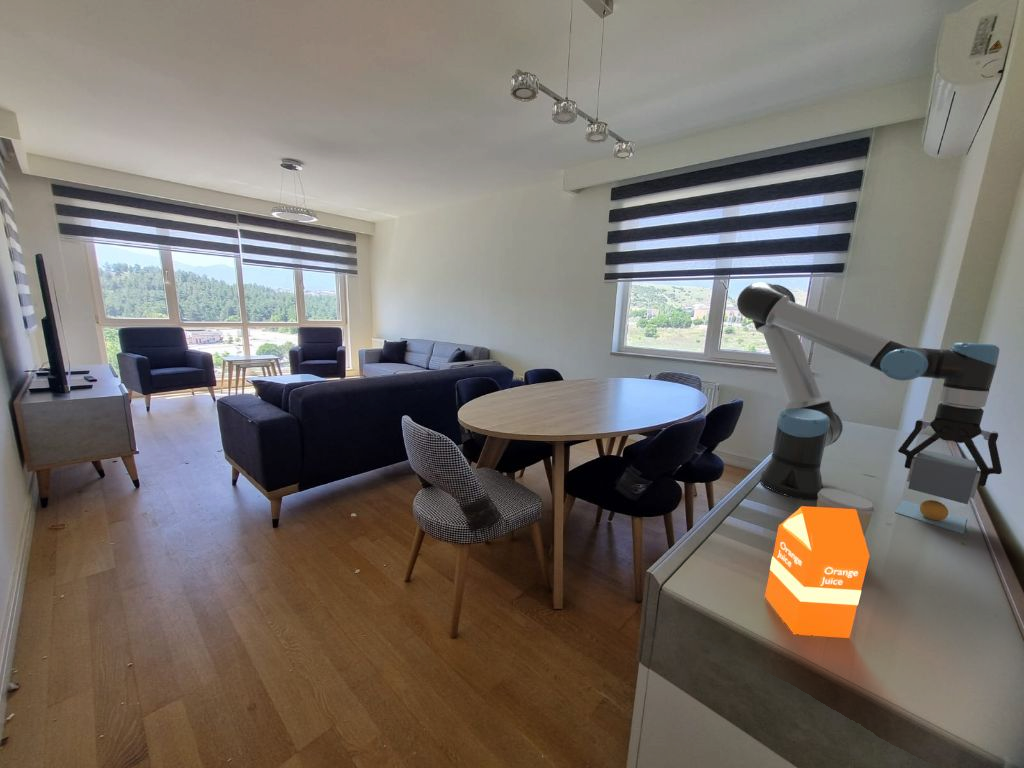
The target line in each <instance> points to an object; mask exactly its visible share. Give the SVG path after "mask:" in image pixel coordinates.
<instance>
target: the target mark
mask: <svg viewBox="0 0 1024 768" xmlns="http://www.w3.org/2000/svg"><path fill="white" fill-rule="evenodd" d="M920 505H921V504H917V503H914V502H910V501H907V500H904V499H902V500H901V501H900V503H899V505H898V507H897V508H896V510H895V512H894V513H895V514H898V515H901V516H904V517H908V518H911V519H914V520H918V521H920V522H924V523H926V524H930V525H932V526H936V527H939V528H943V529H945V530H948V531H952V532H955V533H958V534H962V535H964V534H965V529H966V524H967V518H965V517H962V516H958V515H955V514H952V513H949V512H948V516H947V517H946V518H945V519H943V520H939V521H936V520H931V519H928V518H926V517H925V516H924V515H923V514H922V513H921V511H920Z"/></svg>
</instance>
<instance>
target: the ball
mask: <svg viewBox="0 0 1024 768" xmlns="http://www.w3.org/2000/svg"><path fill="white" fill-rule="evenodd" d="M919 505H920V511H921V513H922V514H923V515H924V516H925V517H926V518H928V519H931V520H936V521H939V520H943V519H945V518H946V517H947V516H948V513H949V509H948V507H947V506H946V505H945V504H944V503H942V502H939V501H938V500H933V499H930V500H924V501H922V502H921V503H920V504H919Z"/></svg>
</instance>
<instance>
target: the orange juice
mask: <svg viewBox="0 0 1024 768" xmlns="http://www.w3.org/2000/svg"><path fill="white" fill-rule="evenodd" d="M774 544H775V545H774V548H773V554H772V557H771V560H770V567H769V574H768V580H767V584H766V590H765V594H764V595H765V596H764V598H765V597H766V598H767V600H768V601H769V603H770V604H771V605H772V606H773V608H774V609H775V610H776V612H777V613H778V614H779V616H780V617H781V618H782V620H783V621H784V622H785V623H786V624H787V625H788V627H789V628H790V630H791V631H792V632H793V633H792V632H791V631H790V630H789V631H790V632H791V633H792V634H793V635H796V634H799V636H811V635H813V636H814V637H829V638H831V637H832V638H844V639H846V638H847V639H850V636H851V632H852V628H853V625H854V620H855V616H856V613H857V609H858V608H857V607H858V606H859V601H860V598H861V594H862V588H863V585H864V584H863V583H864V580H865V576H866V572H867V569H868V564H869V560H870V557H871V555H870V552H869V549H868V545H867V542H866V538H865V536H864V535H863V532H862V528H861V525H860V522H859V518H858V515H857V511H856V509H840V508H823V507H817V506H803V505H801V506H800V507H799V508H798V510H796V511H795V512H793V513H792V514H791V515H790V516H789V517H788V518H786V519H785V520H784V521H783V522H782V523H780V524H778V528H777V533H776V538H775V543H774ZM779 616H778V617H779ZM782 620H781V621H782ZM783 621H782V622H783ZM784 622H783V623H784ZM788 627H787V628H788ZM789 628H788V629H789Z"/></svg>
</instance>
